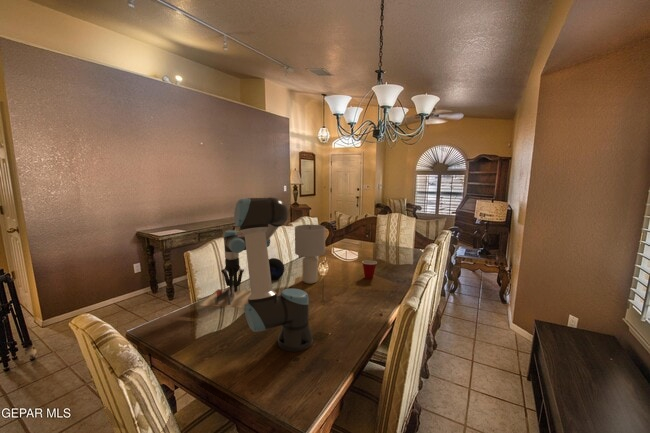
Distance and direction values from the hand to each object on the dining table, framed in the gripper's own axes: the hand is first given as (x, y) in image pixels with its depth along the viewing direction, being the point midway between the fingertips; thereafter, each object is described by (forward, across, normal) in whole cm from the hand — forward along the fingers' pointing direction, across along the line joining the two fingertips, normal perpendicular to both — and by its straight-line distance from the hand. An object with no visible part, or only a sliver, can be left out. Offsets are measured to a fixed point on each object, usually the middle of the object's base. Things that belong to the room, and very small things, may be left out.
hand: (234, 297), depth 163 cm
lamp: (+3, -39, -36) cm, 53 cm away
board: (+2, +3, -1) cm, 4 cm away
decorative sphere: (+2, -13, -36) cm, 39 cm away
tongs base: (+1, +6, -1) cm, 6 cm away
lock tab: (-3, +7, +4) cm, 9 cm away
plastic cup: (+4, -80, -48) cm, 93 cm away
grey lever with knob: (+1, +3, -2) cm, 4 cm away
